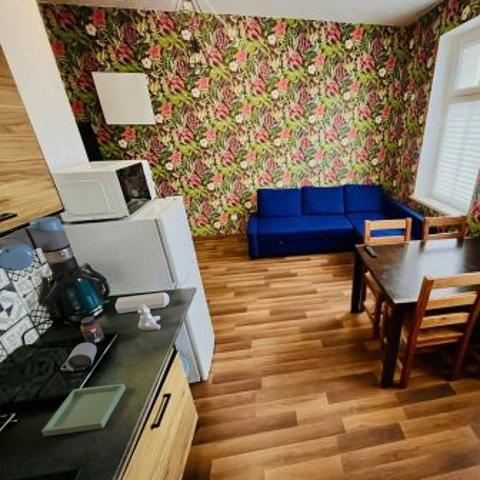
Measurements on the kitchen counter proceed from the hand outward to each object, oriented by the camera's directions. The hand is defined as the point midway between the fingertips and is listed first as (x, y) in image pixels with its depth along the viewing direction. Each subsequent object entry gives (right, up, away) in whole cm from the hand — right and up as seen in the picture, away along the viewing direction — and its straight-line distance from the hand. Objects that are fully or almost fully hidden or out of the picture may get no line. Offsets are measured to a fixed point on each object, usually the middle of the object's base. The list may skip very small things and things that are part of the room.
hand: (81, 306), depth 105 cm
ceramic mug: (+3, -22, -4) cm, 22 cm away
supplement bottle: (-1, -17, +8) cm, 19 cm away
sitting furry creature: (+17, -13, +16) cm, 27 cm away
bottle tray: (+20, -28, -20) cm, 40 cm away
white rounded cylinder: (+6, -8, +29) cm, 31 cm away
